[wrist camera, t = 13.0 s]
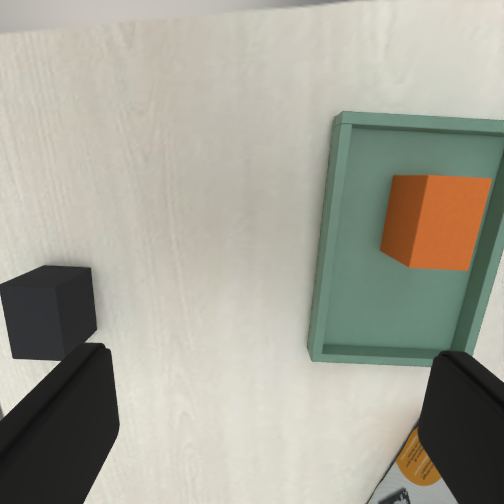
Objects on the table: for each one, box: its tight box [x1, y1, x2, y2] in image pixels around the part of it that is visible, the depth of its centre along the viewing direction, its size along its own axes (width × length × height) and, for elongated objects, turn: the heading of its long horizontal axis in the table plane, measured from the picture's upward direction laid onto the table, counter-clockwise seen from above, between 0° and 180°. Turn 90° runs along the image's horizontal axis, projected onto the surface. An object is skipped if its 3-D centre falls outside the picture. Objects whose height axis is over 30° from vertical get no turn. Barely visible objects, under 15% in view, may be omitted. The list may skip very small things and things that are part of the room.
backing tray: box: [307, 111, 504, 367], centre depth 23 cm, size 20×14×2 cm
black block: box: [0, 265, 97, 361], centre depth 23 cm, size 6×4×4 cm, turn 177°
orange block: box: [380, 175, 492, 271], centre depth 20 cm, size 6×4×4 cm, turn 177°
